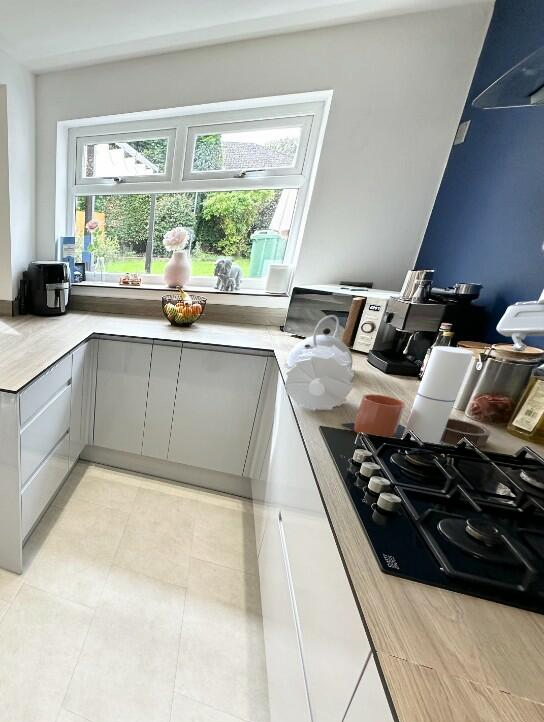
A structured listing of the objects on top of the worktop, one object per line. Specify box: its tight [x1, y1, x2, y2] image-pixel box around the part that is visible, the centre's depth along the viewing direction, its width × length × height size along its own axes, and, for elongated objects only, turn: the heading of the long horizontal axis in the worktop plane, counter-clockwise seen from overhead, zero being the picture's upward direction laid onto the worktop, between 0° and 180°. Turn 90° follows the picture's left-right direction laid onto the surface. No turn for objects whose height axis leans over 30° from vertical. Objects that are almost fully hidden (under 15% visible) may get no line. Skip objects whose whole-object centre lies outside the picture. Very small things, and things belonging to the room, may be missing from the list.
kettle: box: [286, 314, 354, 371], centre depth 166 cm, size 25×23×23 cm
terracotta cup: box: [354, 393, 406, 437], centre depth 110 cm, size 9×9×10 cm
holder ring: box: [440, 417, 492, 448], centre depth 108 cm, size 11×11×4 cm
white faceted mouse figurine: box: [283, 345, 355, 412], centre depth 131 cm, size 18×18×25 cm
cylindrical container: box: [403, 345, 475, 444], centre depth 103 cm, size 7×7×25 cm
